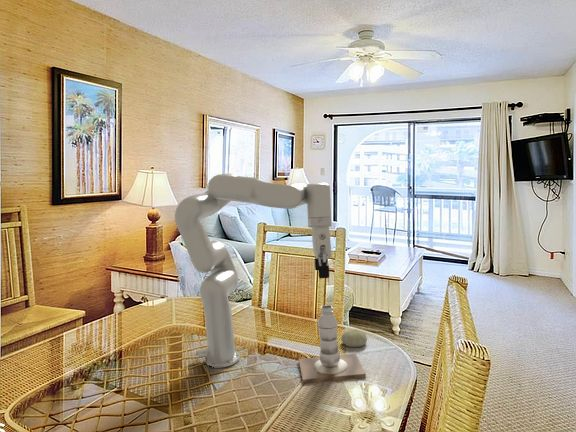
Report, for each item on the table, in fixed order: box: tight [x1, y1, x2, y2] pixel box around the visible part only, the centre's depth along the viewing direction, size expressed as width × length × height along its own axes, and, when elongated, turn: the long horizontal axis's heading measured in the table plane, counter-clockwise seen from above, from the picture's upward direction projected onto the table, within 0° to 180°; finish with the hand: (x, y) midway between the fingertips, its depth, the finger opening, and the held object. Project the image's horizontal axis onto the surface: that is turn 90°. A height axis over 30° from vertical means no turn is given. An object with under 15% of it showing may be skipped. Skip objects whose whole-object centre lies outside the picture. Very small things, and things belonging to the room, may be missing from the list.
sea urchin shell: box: [341, 329, 368, 348], centre depth 157 cm, size 9×8×8 cm
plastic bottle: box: [317, 304, 341, 367], centre depth 138 cm, size 6×7×20 cm
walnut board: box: [298, 353, 367, 384], centre depth 139 cm, size 20×14×1 cm
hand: (322, 273), depth 136 cm, fingers open, 9 cm apart
